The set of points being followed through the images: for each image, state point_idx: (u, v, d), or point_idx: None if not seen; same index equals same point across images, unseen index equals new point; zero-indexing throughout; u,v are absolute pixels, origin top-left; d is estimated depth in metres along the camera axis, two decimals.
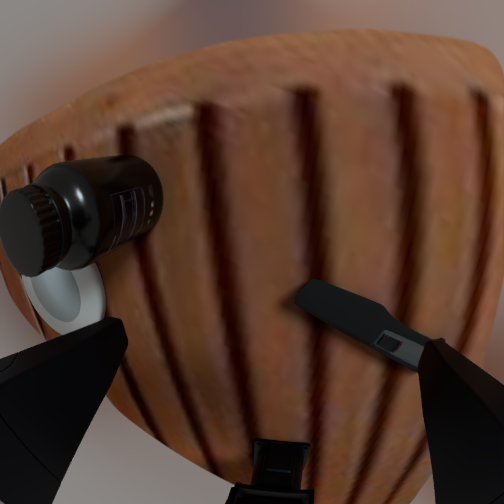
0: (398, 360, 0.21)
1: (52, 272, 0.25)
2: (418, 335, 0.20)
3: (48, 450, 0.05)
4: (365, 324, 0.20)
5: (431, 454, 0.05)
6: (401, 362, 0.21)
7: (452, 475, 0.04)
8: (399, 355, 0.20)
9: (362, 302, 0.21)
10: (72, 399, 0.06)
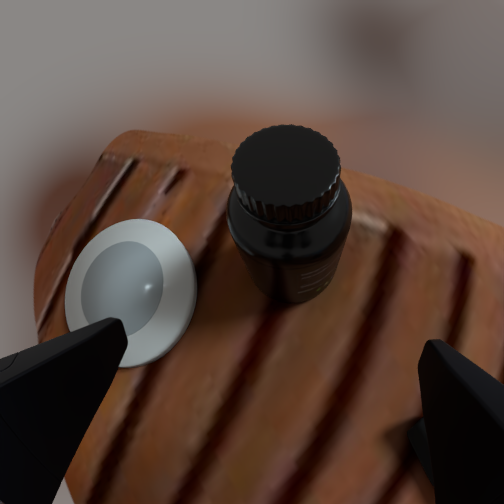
0: None
1: (134, 273, 0.23)
2: None
3: (48, 449, 0.05)
4: None
5: (431, 454, 0.05)
6: None
7: (452, 475, 0.04)
8: None
9: None
10: (72, 399, 0.06)
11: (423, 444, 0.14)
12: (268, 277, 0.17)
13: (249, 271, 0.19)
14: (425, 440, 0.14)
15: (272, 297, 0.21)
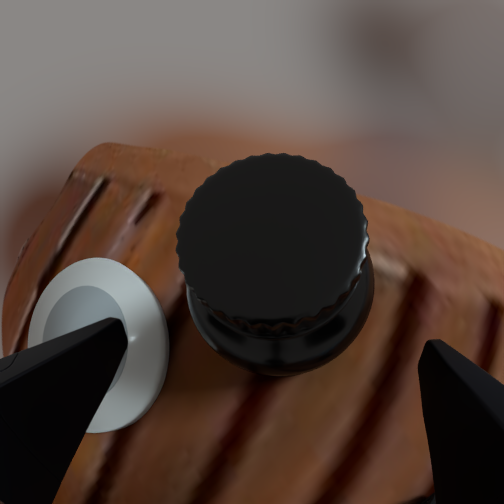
0: None
1: None
2: None
3: (48, 449, 0.05)
4: None
5: (431, 454, 0.05)
6: None
7: (452, 475, 0.04)
8: None
9: None
10: (72, 399, 0.06)
11: None
12: None
13: None
14: None
15: None
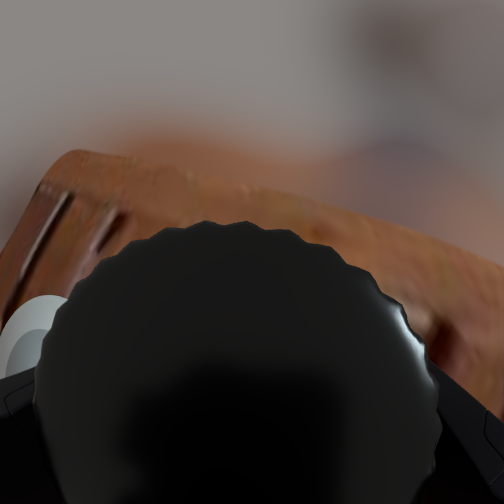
0: None
1: None
2: None
3: None
4: None
5: None
6: None
7: None
8: None
9: None
10: None
11: None
12: None
13: None
14: None
15: None
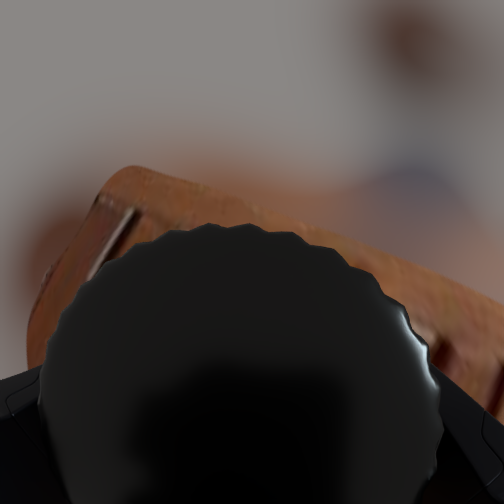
0: None
1: None
2: None
3: None
4: None
5: None
6: None
7: None
8: None
9: None
10: None
11: None
12: None
13: None
14: None
15: None
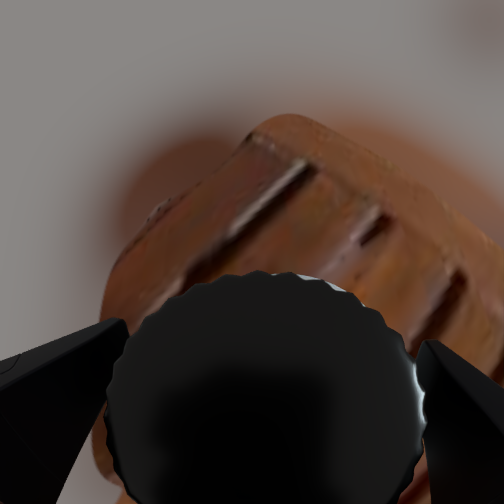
0: None
1: None
2: None
3: (51, 451, 0.05)
4: None
5: (427, 455, 0.05)
6: None
7: (448, 476, 0.04)
8: None
9: None
10: (75, 400, 0.06)
11: None
12: None
13: None
14: None
15: None
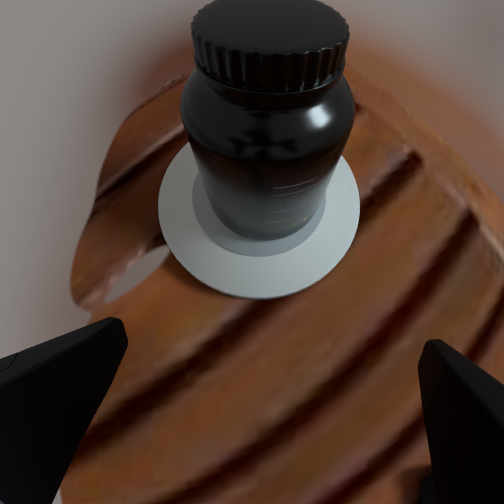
0: None
1: None
2: None
3: (48, 450, 0.05)
4: None
5: (431, 454, 0.05)
6: None
7: (452, 475, 0.04)
8: None
9: None
10: (72, 399, 0.06)
11: (433, 495, 0.11)
12: (226, 189, 0.12)
13: (205, 186, 0.14)
14: None
15: (232, 228, 0.16)
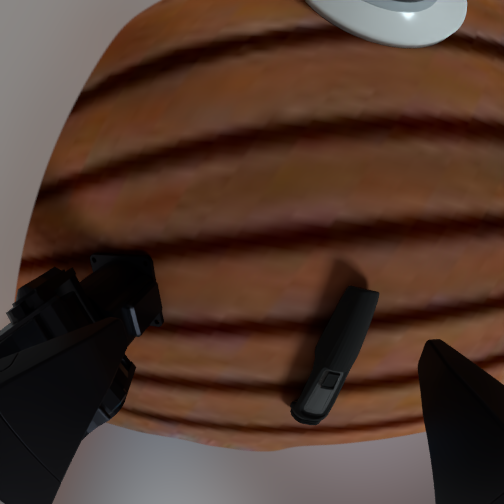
0: (309, 393, 0.22)
1: None
2: None
3: (48, 450, 0.05)
4: (349, 357, 0.20)
5: (431, 454, 0.05)
6: (307, 395, 0.22)
7: (452, 475, 0.04)
8: (315, 392, 0.22)
9: (362, 342, 0.21)
10: (72, 399, 0.06)
11: (347, 310, 0.19)
12: None
13: None
14: (352, 310, 0.19)
15: None
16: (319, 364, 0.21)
